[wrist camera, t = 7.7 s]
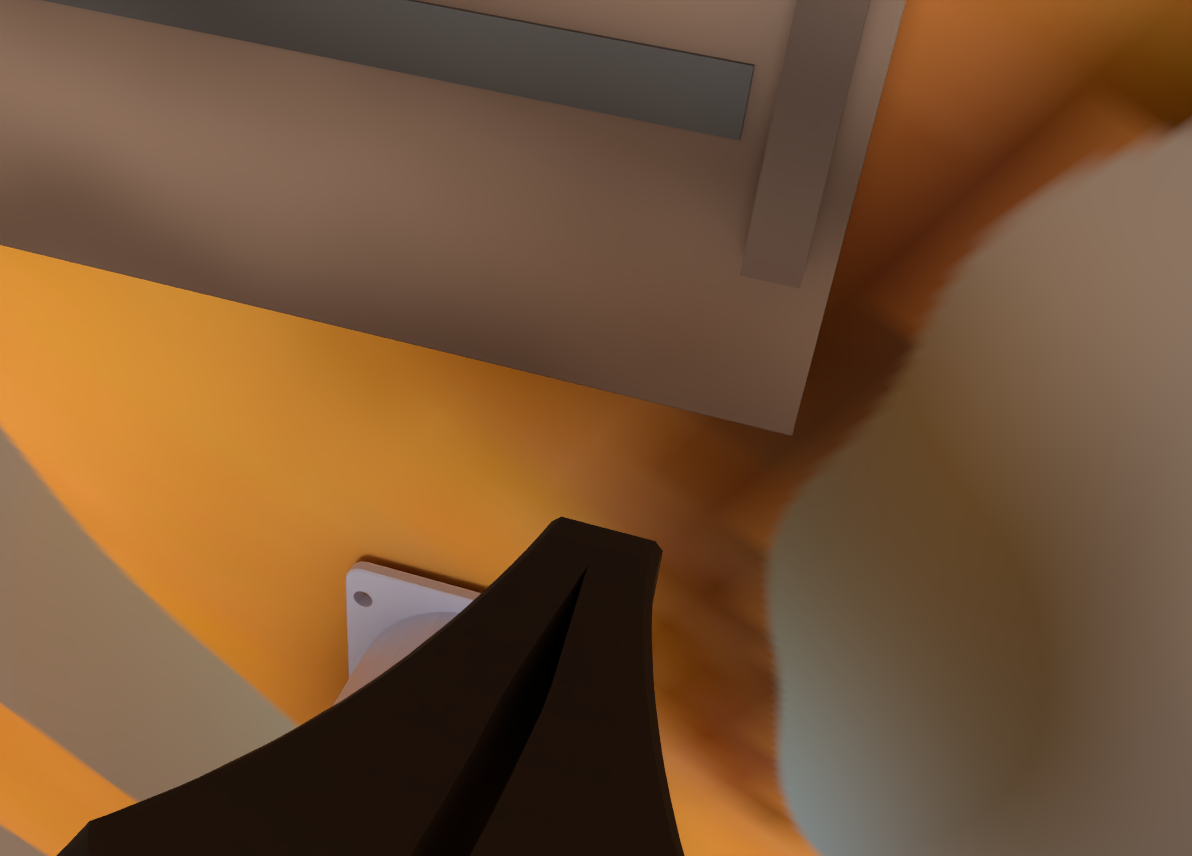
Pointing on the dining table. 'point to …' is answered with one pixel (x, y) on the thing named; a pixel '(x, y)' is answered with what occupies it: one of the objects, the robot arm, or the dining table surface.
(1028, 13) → the dining table surface
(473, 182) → the slotted base plate
